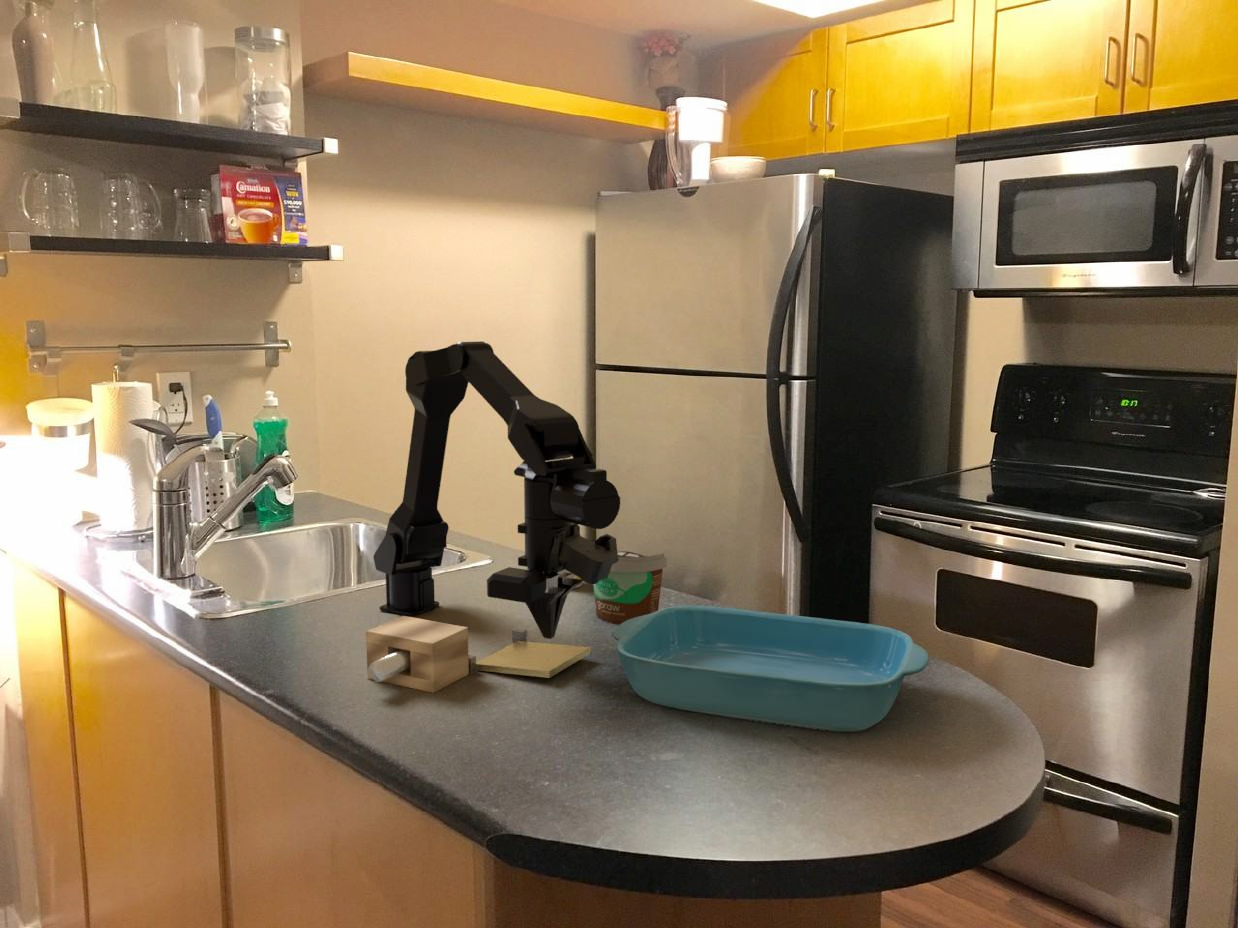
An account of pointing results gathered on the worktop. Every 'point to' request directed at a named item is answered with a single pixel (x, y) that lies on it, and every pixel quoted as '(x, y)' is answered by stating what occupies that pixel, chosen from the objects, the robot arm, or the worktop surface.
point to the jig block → (421, 651)
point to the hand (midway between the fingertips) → (548, 637)
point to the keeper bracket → (517, 636)
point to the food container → (630, 587)
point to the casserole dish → (767, 665)
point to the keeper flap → (532, 659)
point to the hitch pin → (390, 665)
